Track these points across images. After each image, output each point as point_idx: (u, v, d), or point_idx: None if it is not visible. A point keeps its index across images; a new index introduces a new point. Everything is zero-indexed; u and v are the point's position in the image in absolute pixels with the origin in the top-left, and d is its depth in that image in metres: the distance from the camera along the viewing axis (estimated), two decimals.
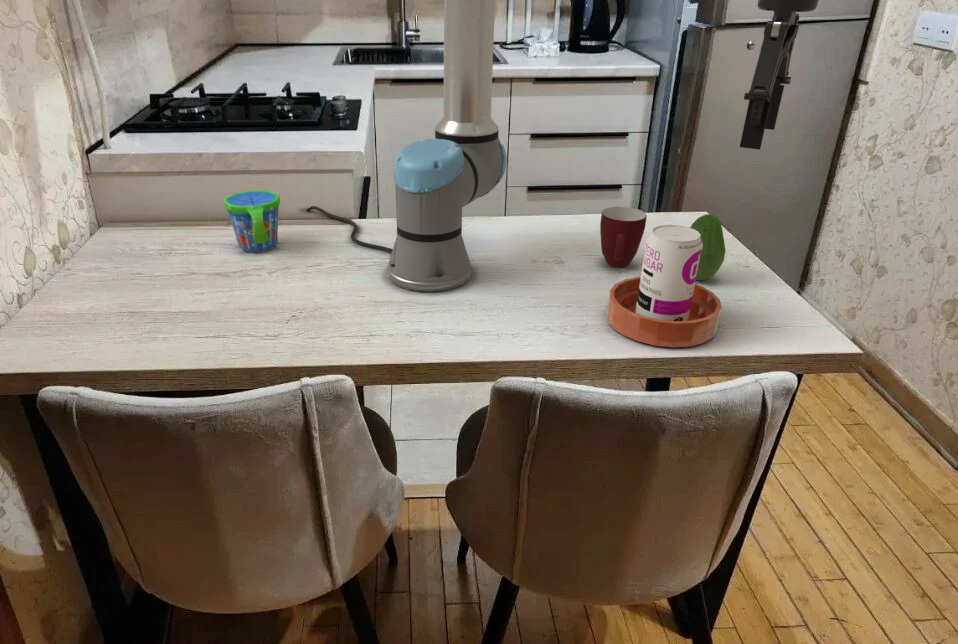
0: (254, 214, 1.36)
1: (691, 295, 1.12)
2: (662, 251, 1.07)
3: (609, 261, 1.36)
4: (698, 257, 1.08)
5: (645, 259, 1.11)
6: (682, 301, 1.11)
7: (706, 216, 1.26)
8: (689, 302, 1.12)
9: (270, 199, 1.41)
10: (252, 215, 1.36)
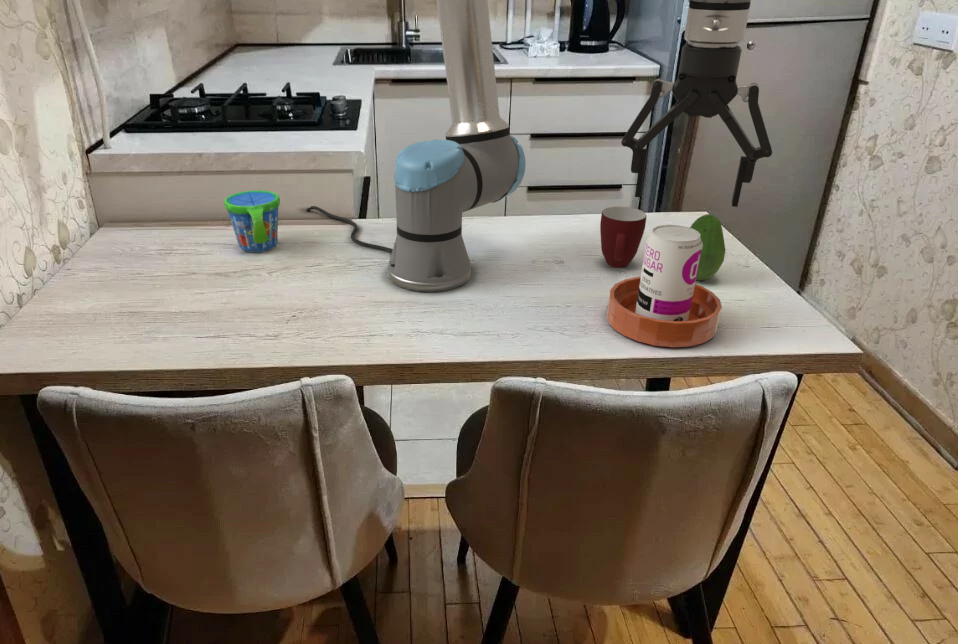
0: (254, 214, 1.36)
1: (691, 295, 1.12)
2: (662, 251, 1.07)
3: (609, 261, 1.36)
4: (698, 257, 1.08)
5: (645, 259, 1.11)
6: (682, 301, 1.11)
7: (706, 216, 1.26)
8: (689, 302, 1.12)
9: (270, 199, 1.41)
10: (252, 215, 1.36)
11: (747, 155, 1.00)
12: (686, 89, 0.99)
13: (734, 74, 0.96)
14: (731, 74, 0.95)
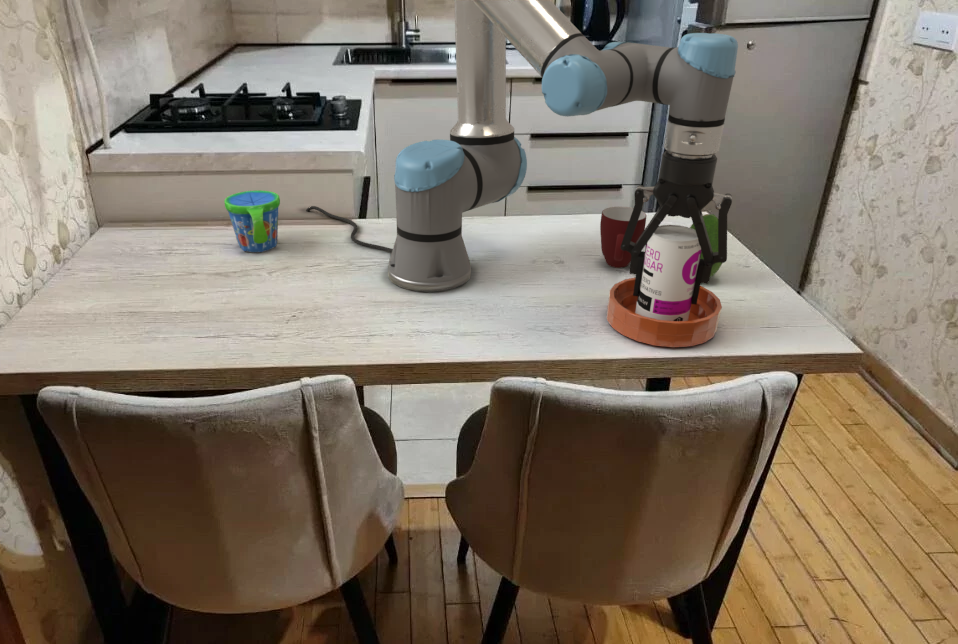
0: (254, 214, 1.36)
1: (691, 295, 1.12)
2: (662, 251, 1.07)
3: (609, 261, 1.36)
4: (698, 257, 1.08)
5: (645, 259, 1.11)
6: (682, 301, 1.11)
7: (706, 216, 1.26)
8: (689, 302, 1.12)
9: (270, 199, 1.41)
10: (252, 215, 1.36)
11: (705, 259, 1.09)
12: (666, 192, 1.06)
13: (710, 181, 1.03)
14: (707, 182, 1.02)
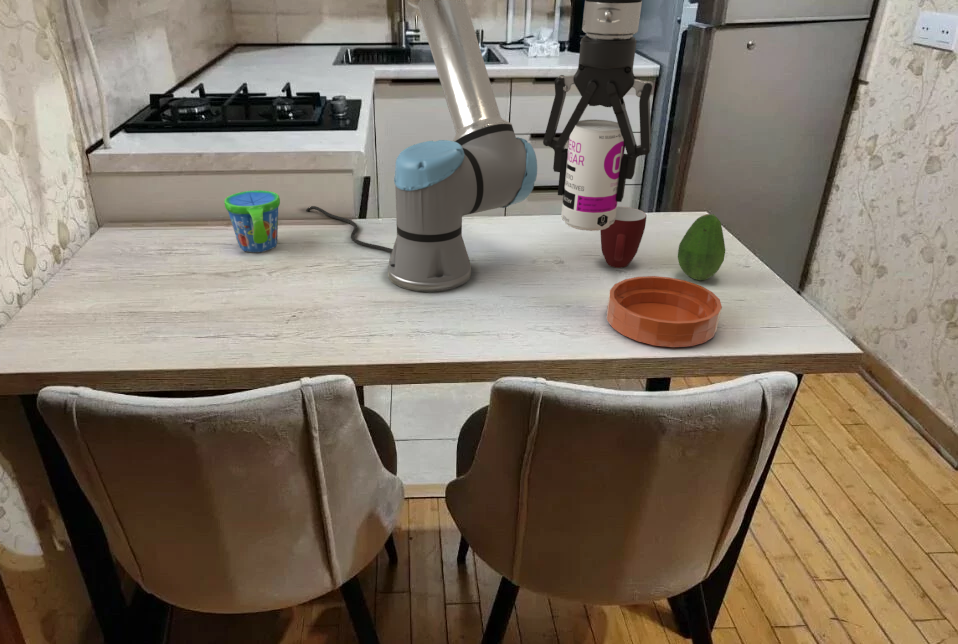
0: (254, 214, 1.36)
1: (616, 192, 1.08)
2: (583, 142, 1.04)
3: (609, 261, 1.36)
4: (621, 149, 1.05)
5: (568, 154, 1.08)
6: (605, 197, 1.07)
7: (706, 216, 1.26)
8: (614, 199, 1.09)
9: (270, 199, 1.41)
10: (252, 215, 1.36)
11: (628, 151, 1.05)
12: (586, 79, 1.02)
13: (629, 65, 0.99)
14: (626, 65, 0.99)
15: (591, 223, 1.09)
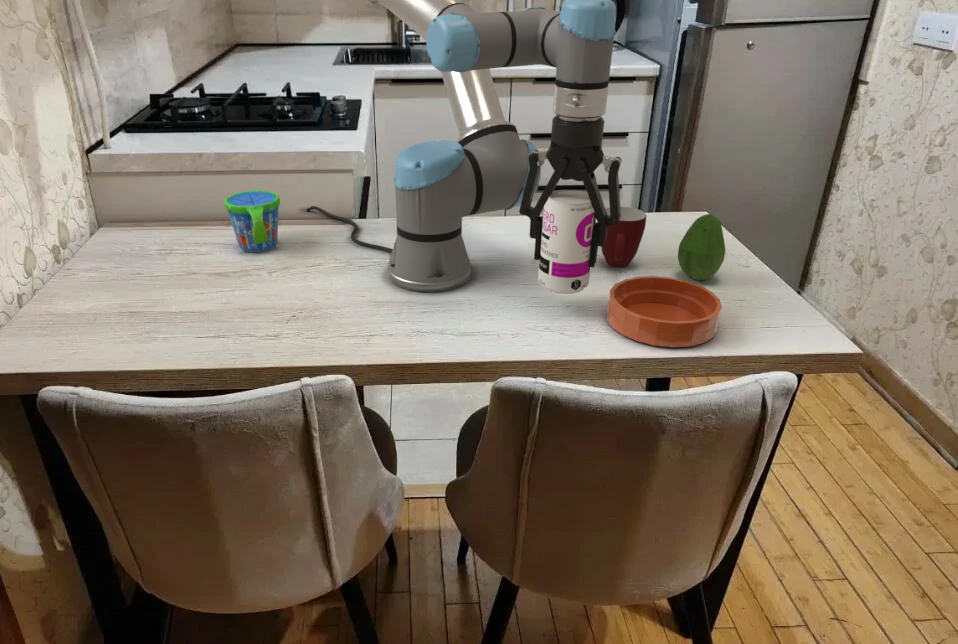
0: (254, 214, 1.36)
1: (588, 258, 1.14)
2: (556, 214, 1.10)
3: (609, 261, 1.36)
4: (592, 220, 1.11)
5: (543, 223, 1.14)
6: (578, 263, 1.13)
7: (706, 216, 1.26)
8: (586, 265, 1.15)
9: (270, 199, 1.41)
10: (252, 215, 1.36)
11: (598, 222, 1.11)
12: (558, 155, 1.09)
13: (597, 144, 1.05)
14: (594, 144, 1.05)
15: (565, 287, 1.15)
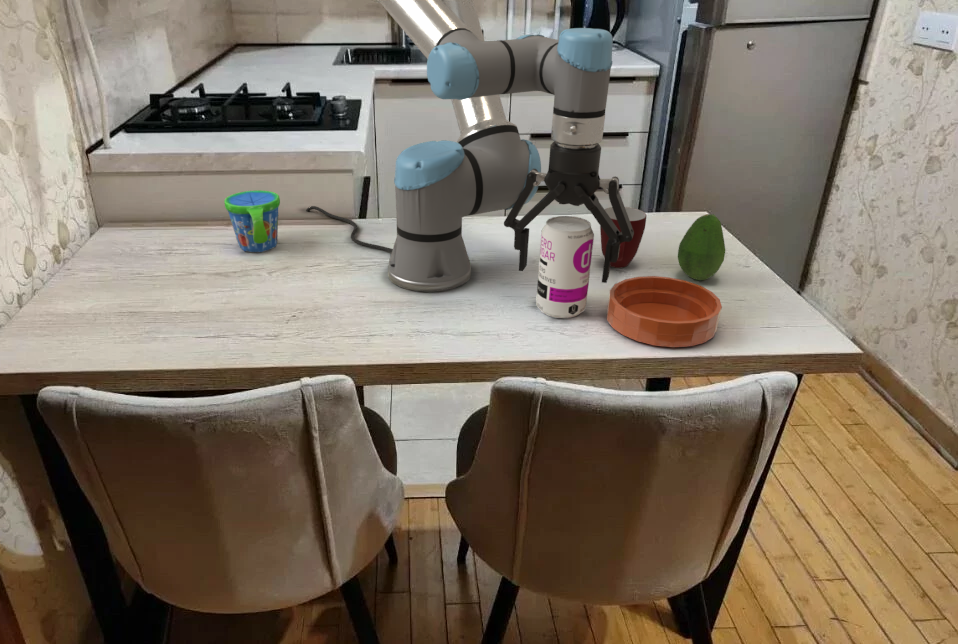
0: (254, 214, 1.36)
1: (585, 283, 1.17)
2: (553, 241, 1.12)
3: None
4: (589, 247, 1.13)
5: (540, 249, 1.16)
6: (575, 289, 1.16)
7: (706, 216, 1.26)
8: (583, 290, 1.17)
9: (270, 199, 1.41)
10: (252, 215, 1.36)
11: (611, 239, 1.12)
12: (555, 181, 1.11)
13: (594, 170, 1.07)
14: (591, 171, 1.07)
15: (562, 312, 1.17)
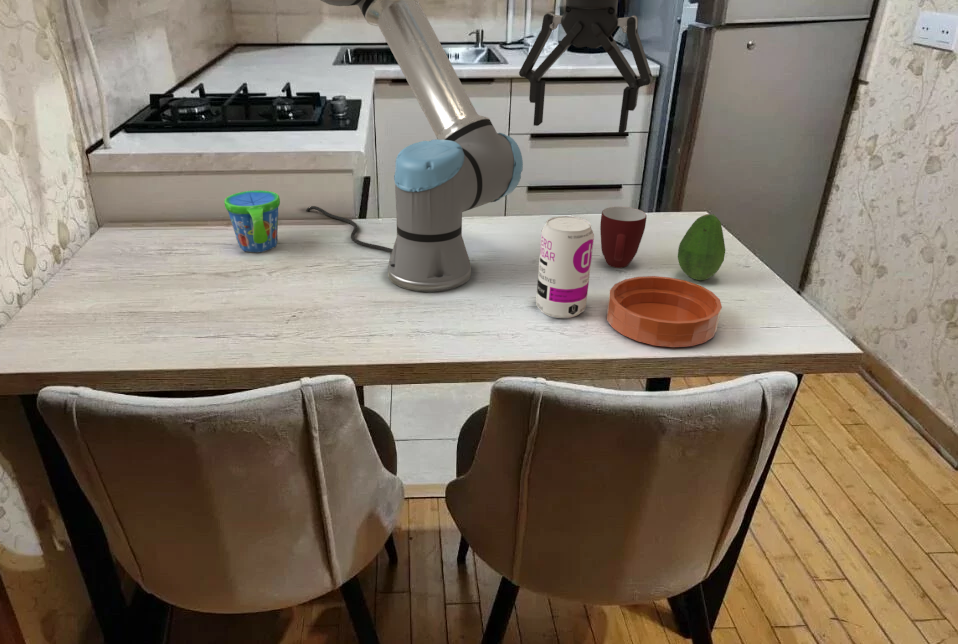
0: (254, 214, 1.36)
1: (585, 283, 1.17)
2: (553, 241, 1.12)
3: (609, 261, 1.36)
4: (589, 247, 1.13)
5: (540, 249, 1.16)
6: (575, 289, 1.16)
7: (706, 216, 1.26)
8: (583, 290, 1.17)
9: (270, 199, 1.41)
10: (252, 215, 1.36)
11: (629, 83, 1.09)
12: (572, 21, 1.08)
13: (612, 6, 1.04)
14: (609, 5, 1.04)
15: (562, 312, 1.17)
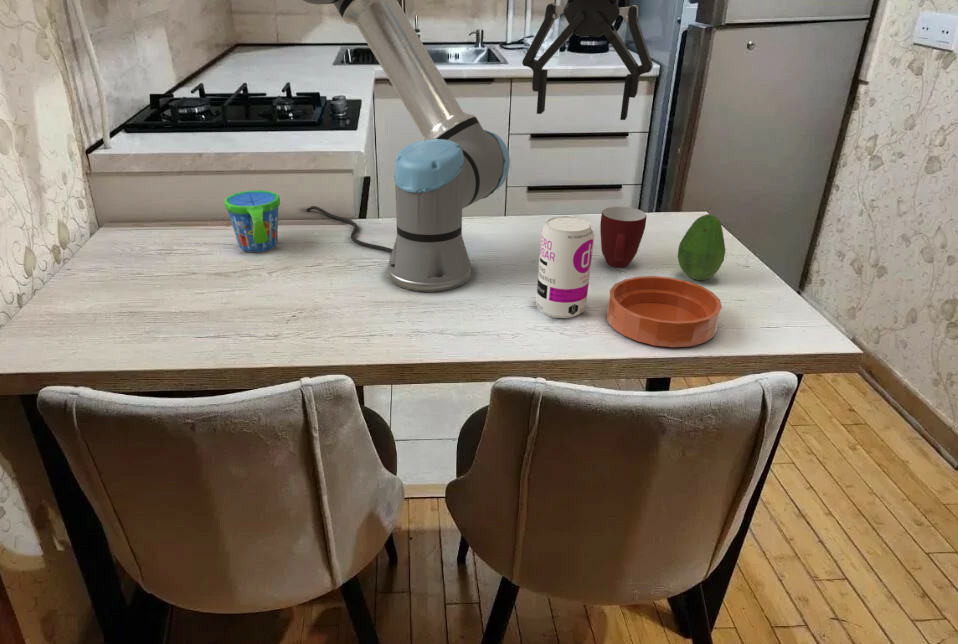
0: (254, 214, 1.36)
1: (585, 283, 1.17)
2: (553, 241, 1.12)
3: (609, 261, 1.36)
4: (589, 247, 1.13)
5: (540, 249, 1.16)
6: (575, 289, 1.16)
7: (706, 216, 1.26)
8: (583, 290, 1.17)
9: (270, 199, 1.41)
10: (252, 215, 1.36)
11: (630, 71, 1.12)
12: (575, 11, 1.11)
13: None
14: None
15: (562, 312, 1.17)
